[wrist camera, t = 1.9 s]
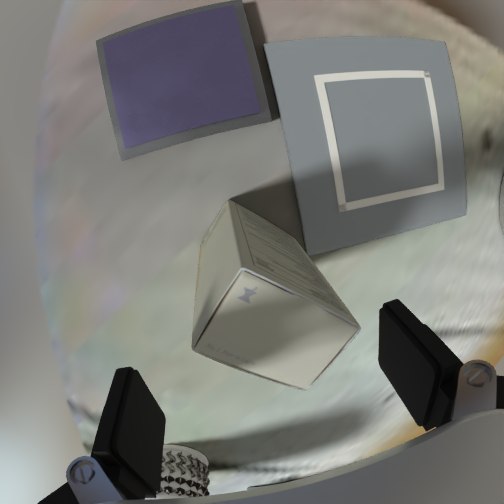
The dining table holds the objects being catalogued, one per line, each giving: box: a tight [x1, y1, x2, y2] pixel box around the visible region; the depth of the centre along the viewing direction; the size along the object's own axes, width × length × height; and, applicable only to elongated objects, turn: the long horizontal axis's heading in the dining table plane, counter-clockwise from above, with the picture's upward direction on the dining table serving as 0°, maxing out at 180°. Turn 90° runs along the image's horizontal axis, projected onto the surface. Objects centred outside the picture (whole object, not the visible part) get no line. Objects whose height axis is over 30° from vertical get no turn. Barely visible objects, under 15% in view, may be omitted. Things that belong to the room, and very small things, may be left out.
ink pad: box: [96, 0, 272, 161], centre depth 18 cm, size 10×9×2 cm
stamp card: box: [263, 36, 466, 256], centre depth 21 cm, size 16×16×1 cm
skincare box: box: [192, 200, 361, 391], centre depth 18 cm, size 6×4×12 cm
